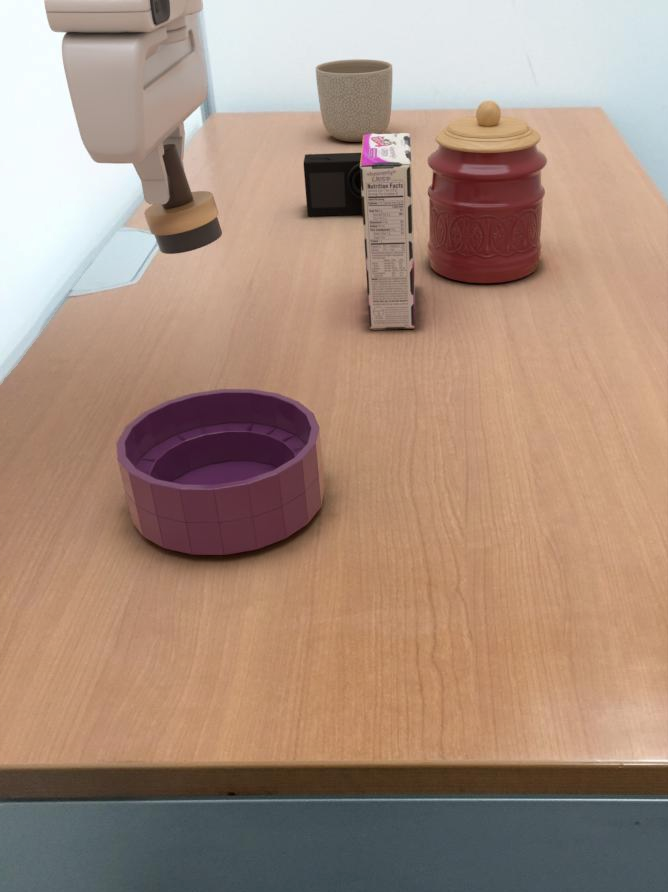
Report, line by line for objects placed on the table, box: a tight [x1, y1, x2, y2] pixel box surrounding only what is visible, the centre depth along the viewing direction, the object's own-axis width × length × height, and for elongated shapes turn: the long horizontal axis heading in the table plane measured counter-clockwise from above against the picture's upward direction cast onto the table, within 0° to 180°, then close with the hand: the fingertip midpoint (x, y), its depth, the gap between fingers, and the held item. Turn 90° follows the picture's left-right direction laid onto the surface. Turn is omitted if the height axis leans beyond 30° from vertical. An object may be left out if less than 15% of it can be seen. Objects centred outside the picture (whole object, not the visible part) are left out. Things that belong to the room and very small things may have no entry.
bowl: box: [115, 388, 326, 556], centre depth 70 cm, size 14×14×6 cm
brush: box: [143, 144, 223, 255], centre depth 72 cm, size 5×5×7 cm
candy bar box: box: [360, 132, 416, 331], centre depth 96 cm, size 11×5×16 cm, turn 0°
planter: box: [315, 58, 393, 143], centre depth 157 cm, size 12×12×11 cm
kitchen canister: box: [427, 100, 548, 284], centre depth 106 cm, size 13×13×18 cm
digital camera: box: [303, 152, 363, 217], centre depth 126 cm, size 10×5×7 cm, turn 92°
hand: (166, 194), depth 72 cm, fingers closed on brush, 2 cm apart
